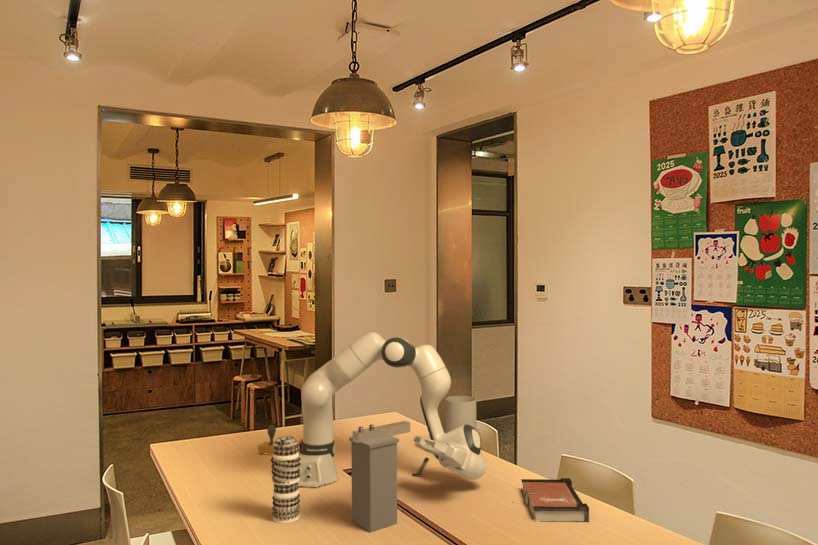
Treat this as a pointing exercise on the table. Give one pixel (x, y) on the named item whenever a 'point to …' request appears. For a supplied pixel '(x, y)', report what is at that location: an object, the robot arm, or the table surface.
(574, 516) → the book
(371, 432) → the brown wooden bar
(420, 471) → the tomahawk
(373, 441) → the pedestal
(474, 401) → the cylinder vase
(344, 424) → the table surface
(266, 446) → the rubber stamp
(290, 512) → the decorative candle
